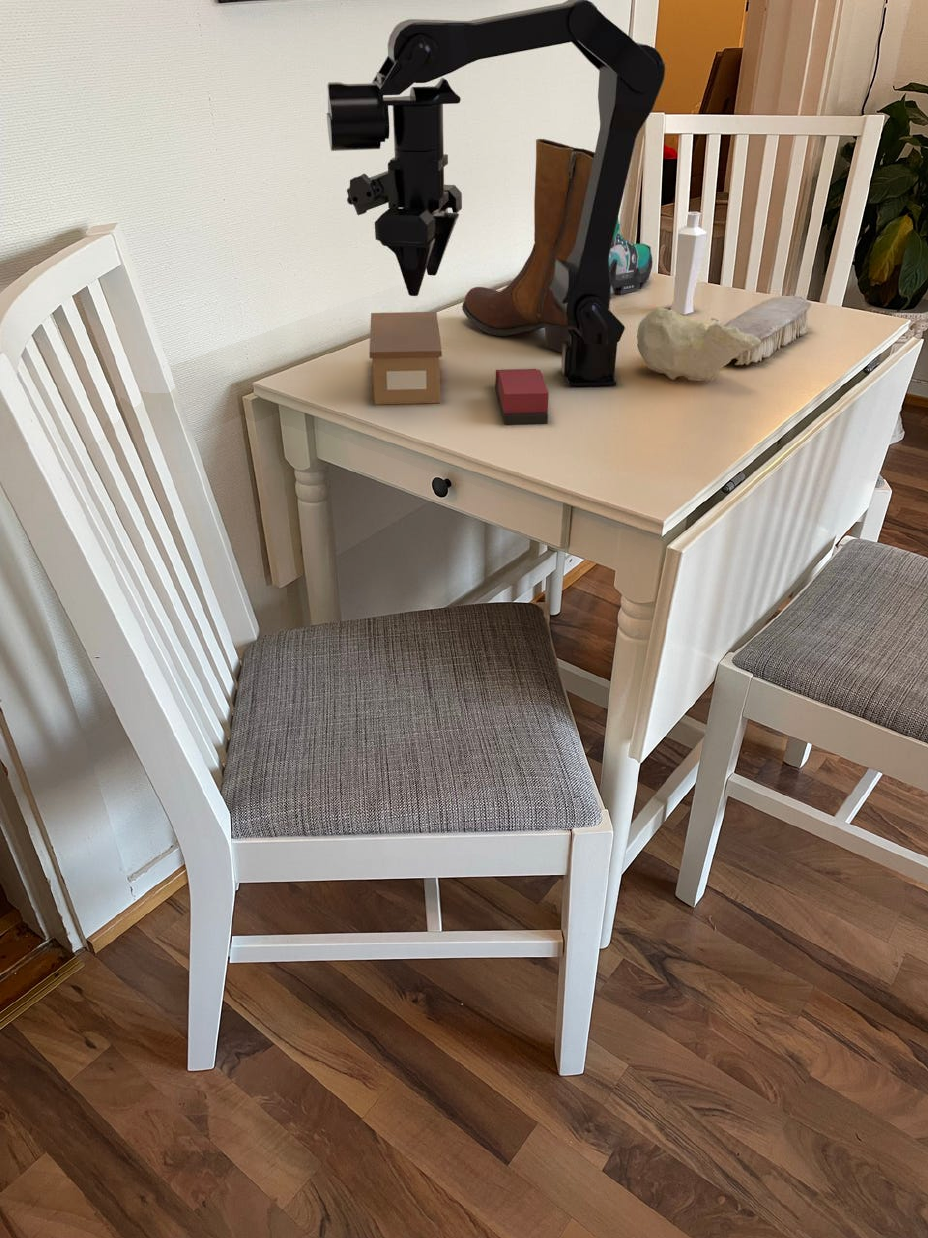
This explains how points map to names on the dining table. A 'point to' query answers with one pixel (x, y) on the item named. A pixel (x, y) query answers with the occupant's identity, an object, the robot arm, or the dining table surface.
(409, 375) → the shoebox
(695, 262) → the perfume bottle
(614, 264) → the sneaker
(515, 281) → the boot
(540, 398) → the dark red two-tone block
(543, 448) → the dining table surface
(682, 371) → the beige lumpy irregular piece
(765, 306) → the shoe brush
